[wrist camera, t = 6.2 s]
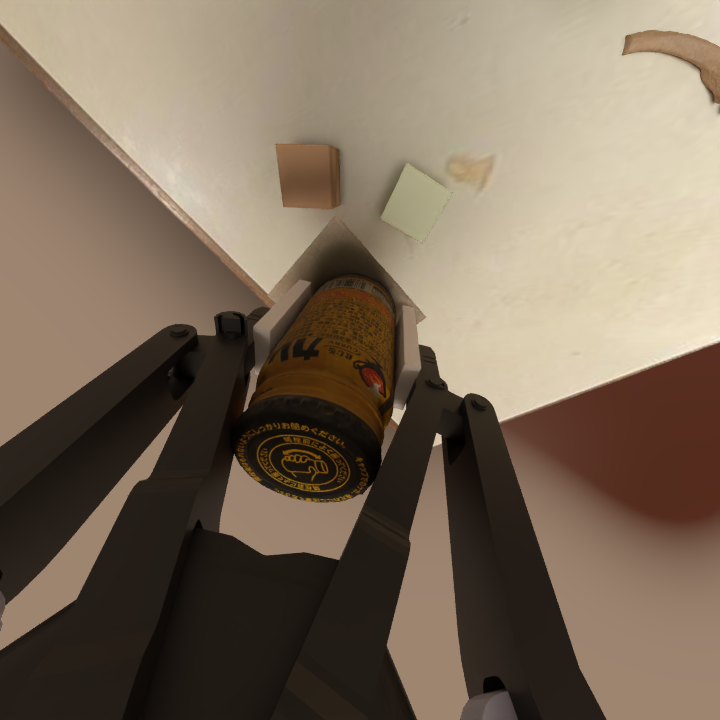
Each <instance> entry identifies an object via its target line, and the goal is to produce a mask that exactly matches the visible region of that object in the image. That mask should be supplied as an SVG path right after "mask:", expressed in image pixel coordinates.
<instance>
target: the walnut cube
mask: <svg viewBox="0 0 720 720" xmlns="http://www.w3.org/2000/svg"><path fill="white" fill-rule="evenodd" d="M276 151H277V160H278V168H279V176H280V184H281V192H282V200H283V207H297V208H320V209H332V208H335V207H337V206H339V205H340V166H339V150H338V149H336V148H334V147H332V146H330V145H303V144H276Z"/></svg>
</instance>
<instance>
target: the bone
mask: <svg viewBox="0 0 720 720" xmlns="http://www.w3.org/2000/svg"><path fill="white" fill-rule="evenodd" d="M641 51H654V52H657V51H660V52H665V53H667V54H672V55H675V56H679V57H681V58H682V59H684V60H688V61H690V62H692V63H693V64H695V65H696V66H697V67H699V68H700V69H701V79H702V81H703V83H704V84H705V86H706V88H707V87H708V89H709V90H710V91H712V93H713V95H714V99H713V100H715V102H716V103H718V104H719V103H720V47H719V46H717V45H715V44H713V43H711V42H709V41H707V40H704V39H701V38H698V37H696V36H692V35H689V34H682V33H678V32H672V31H667V32H663V31H657V30H651V31H644V32H638V33H635V34H631V35H627V36H626V43H625V47H624V51H623V55H626V54H629V53H633V52H641Z"/></svg>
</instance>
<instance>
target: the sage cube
mask: <svg viewBox="0 0 720 720" xmlns="http://www.w3.org/2000/svg"><path fill="white" fill-rule="evenodd" d="M452 193H453V192H452V191H450V190H448V189H447V188H445V187H444V186H442V185H441V184H439V183H437V182H436V181H434V180H433V179H431V178H430V177H428V176H426V175H425V174H423V173H422V172H420V171H419V170H417V169H415V168H414V167H412V166H411V165H409V164H406V166H405V168H404V170H403V172H402V174H401V176H400V178H399V180H398V182H397V184H396V187H395V189H394V191H393V193H392V195H391V197H390V199H389V201H388V203H387V205H386V208H385V210H384V212H383V214H382V216H381V218H380V219H381V220H383V221H385V222H386V223H388V224H390V225H392V226H393V227H395V228H397V229H398V230H400V231H402V232H404V233H405V234H407V235H409V236H410V237H412V238H414V239H416V240H417V241H419V242H421V243H423V241H424V240H425V238H426V236H427V235H428V233H429V231H430V230H431V228H432V226H433V225H434V223H435V221H436V220H437V218H438V216H439V215H440V213H441V211H442V210H443V208H444V206H445V205H446V203H447V201H448V200H449V198H450V196H451V194H452Z"/></svg>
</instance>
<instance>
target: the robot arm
mask: <svg viewBox="0 0 720 720" xmlns="http://www.w3.org/2000/svg"><path fill="white" fill-rule="evenodd" d="M310 290H311V282H308V281H304V280H299V281H298V282H297V283H296V284H295V285H294V286H293V287H292V288H291V289H290V290H289V291H288V292H287V293H286V294H285V295H284V296H283V297H282V298H281V299H280V300H279V301H278V302H277V303H276V304H275V305H274V306H273V307H272V308H271V309H270V308H266V307H260V308H257V309H255V310H254V311H252V312H251V313H250V315H248V316H247V317H246V316H245V315H244V314H242V313H240V312H235V311H227V312H222V313H219V314H217V315H216V316H215V317H214V320H215V326H216V335H215V336H205V335H197V330H196V329H195V328H194V327H193V326H190V325H185V324H175V325H171V326H168V327H166V328H164V329H162V330H161V331H160V332H158V333H157V334H155V335H154V336H153V337H151V338H150V339H148V340H147V341H146V342H144V343H143V344H142V345H140V346H139V347H137V348H136V349H135V350H133V351H132V352H131V353H129V354H128V355H126V356H125V357H124V358H122V359H121V360H120V361H118V362H117V363H115V364H114V365H113V366H111V367H110V368H108V369H107V370H106V371H104V372H103V373H102V374H100V375H99V376H97V377H96V378H95V379H93V380H92V381H91V382H89V383H88V384H86V385H85V386H84V387H82V388H81V389H80V390H78V391H77V392H75V393H74V394H73V395H71V396H70V397H69V398H67V399H66V400H65V401H63V402H62V403H60V404H59V405H57V406H56V407H55V408H53V409H52V410H51V411H49V412H48V413H46V414H45V415H44V416H42V417H41V418H40V419H38V420H37V421H35V422H34V423H33V424H32V425H30V426H29V427H27V428H26V429H24V430H23V431H22V432H20V433H19V434H18V435H16V436H15V437H13V438H12V439H11V440H9V441H8V442H6V443H5V444H4V445H2V446H1V447H0V630H1V627H2V622H1V617H2V614H3V612H4V609H5V605H6V604H8V602H10V601H11V600H12V599H13V598H14V597H15V596H17V595H18V594H19V593H20V592H21V591H22V590H23V589H24V588H25V587H26V586H27V585H28V584H29V583H30V582H31V581H32V580H33V579H34V578H35V577H36V576H37V575H38V574H39V573H40V572H41V571H42V570H43V569H44V568H45V567H46V566H47V565H48V564H49V563H50V561H51V560H52V559H53V558H54V557H55V556H56V555H57V554H58V553H59V552H60V550H61V549H62V548H63V547H64V546H65V545H66V544H67V542H68V541H69V540H70V539H71V538H72V536H73V535H74V534H75V533H76V532H77V530H78V529H79V528H80V527H81V526H82V524H83V523H84V522H85V521H86V520H87V519H88V517H89V516H90V515H91V514H92V512H93V511H94V510H95V509H96V508H97V507H98V506H99V504H100V503H101V502H102V501H103V499H104V498H105V497H106V496H107V495H108V494H109V492H110V491H111V490H112V489H113V488H114V486H115V485H116V484H117V483H118V482H119V480H120V479H121V478H122V477H123V476H124V475H125V473H126V472H127V471H128V470H129V469H130V467H131V466H132V465H133V464H134V463H135V461H136V460H137V459H138V458H139V457H140V456H141V454H142V453H143V452H144V451H145V450H146V448H147V447H148V446H149V445H150V444H151V442H152V441H153V440H154V439H155V438H156V436H157V435H158V434H159V433H160V432H161V430H162V429H163V428H164V427H165V426H166V424H167V423H168V422H169V421H170V420H171V419H172V417H173V416H174V415H175V414H176V412H177V411H178V410H179V409H180V408H181V407H182V405H183V407H182V409H181V411H180V413H179V416H178V418H177V420H176V422H175V424H174V426H173V428H172V430H171V433H170V435H169V437H168V439H167V441H166V443H165V446H164V448H163V450H162V452H161V454H160V457H159V459H158V461H157V463H156V465H155V467H154V469H153V472H152V473H151V475H150V477H149V478H148V479H146V480H142V481H139V482H138V483H137V484H136V485H135V486H134V487H133V489H132V491H131V492H130V494H129V496H128V498H127V500H126V502H125V504H124V506H123V508H122V510H121V512H120V514H119V516H118V518H117V520H116V522H115V524H114V526H113V528H112V530H111V532H110V534H109V536H108V538H107V540H106V542H105V544H104V546H103V548H102V550H101V552H100V554H99V556H98V558H97V560H96V562H95V564H94V566H93V568H92V570H91V572H90V574H89V576H88V578H87V580H86V582H85V584H84V586H83V588H82V590H81V592H80V594H79V596H78V598H77V599H76V600H75V601H73V602H72V603H70V604H69V605H67V606H66V607H64V608H63V609H62V610H60V611H59V612H57V613H56V614H54V615H53V616H51V617H50V618H48V619H47V620H45V621H44V622H42V623H41V624H39V625H38V626H36V627H35V628H33V629H32V630H30V631H29V632H27V633H26V634H24V635H23V636H21V637H20V638H18V639H17V640H15V641H14V642H12V643H11V644H9V645H8V646H6V647H5V648H3V649H2V650H0V720H417V719H416V716H415V714H414V711H413V709H412V706H411V704H410V701H409V699H408V697H407V694H406V692H405V689H404V687H403V684H402V682H401V680H400V677H399V675H398V672H397V670H396V667H395V665H394V663H393V660H392V658H391V655H390V653H389V650H388V648H387V641H388V637H389V633H390V629H391V625H392V621H393V617H394V613H395V609H396V605H397V601H398V597H399V593H400V589H401V585H402V581H403V577H404V573H405V569H406V565H407V561H408V556H409V552H410V541H409V534H410V530H411V526H412V523H413V519H414V515H415V511H416V507H417V503H418V500H419V496H420V492H421V489H422V485H423V481H424V477H425V473H426V470H427V466H428V462H429V458H430V454H431V450H432V447H433V443H434V439H435V436H436V433H438V434H440V435H442V448H443V461H444V472H445V484H446V496H447V507H448V520H449V532H450V543H451V555H452V567H453V579H454V591H455V603H456V615H457V627H458V637H459V645H460V654H461V661H462V667H463V672H464V677H465V682H466V687H467V692H468V696H469V700H468V702H467V703H466V705H465V706H464V708H463V711H462V715H461V719H460V720H606V718H605V716H604V714H603V712H602V710H601V708H600V706H599V704H598V703H597V701H596V699H595V697H594V695H593V693H592V691H591V689H590V687H589V685H588V684H587V682H586V680H585V678H584V676H583V674H582V672H581V670H580V669H579V665H578V662H577V659H576V656H575V654H574V650H573V647H572V645H571V641H570V638H569V635H568V632H567V629H566V626H565V623H564V620H563V617H562V614H561V611H560V608H559V605H558V602H557V599H556V596H555V593H554V589H553V587H552V584H551V580H550V577H549V575H548V571H547V568H546V565H545V562H544V559H543V556H542V553H541V550H540V547H539V544H538V541H537V538H536V535H535V532H534V529H533V526H532V523H531V520H530V516H529V514H528V510H527V507H526V505H525V502H524V498H523V496H522V492H521V489H520V486H519V483H518V480H517V477H516V474H515V471H514V468H513V465H512V462H511V459H510V456H509V453H508V450H507V447H506V444H505V440H504V438H503V434H502V432H501V429H500V425H499V422H498V419H497V416H496V413H495V410H494V407H493V406H492V404H491V403H490V402H489V401H488V400H487V399H486V398H484V397H482V396H480V395H477V394H473V393H470V394H467V395H466V396H465V397H464V398H461V397H459V396H457V395H455V394H453V393H451V392H450V391H448V386H447V384H446V382H445V381H444V380H442V379H441V378H440V376H439V371H438V366H437V361H436V356H435V353H434V351H433V350H432V349H431V348H430V347H427V346H423V345H419V344H418V336H417V327H416V318H415V310H414V308H413V307H409V306H405V305H403V306H402V309H401V312H400V315H399V318H398V322H397V325H396V343H395V365H396V368H395V378H394V385H395V396H394V398H395V400H394V405H393V408H397V409H401V410H403V408H404V406H405V404H406V410H405V413H404V415H403V417H402V419H401V422H400V424H399V426H398V428H397V431H396V433H395V435H394V438H393V440H392V442H391V444H390V447H389V449H388V451H387V453H386V456H385V458H384V460H383V463H382V465H381V467H380V469H379V471H378V474H377V476H376V478H375V480H374V483H373V485H372V487H371V490H370V492H369V494H368V496H367V499H366V501H365V503H364V506H363V508H362V510H361V512H360V514H359V517H358V519H357V521H356V523H355V526H354V528H353V530H352V533H351V535H350V537H349V539H348V542H347V544H346V546H345V548H344V551H343V553H342V555H341V557H340V560H336V559H332V558H327V557H323V556H319V555H314V554H310V553H305V552H303V553H292V554H281V555H269V556H267V555H262V554H261V553H259V552H257V551H255V550H254V549H253V548H251V547H249V546H248V545H246V544H244V543H243V542H241V541H240V540H238V539H236V538H235V537H233V536H230V535H226V534H222V533H219V525H220V516H221V511H222V506H223V502H224V497H225V493H226V488H227V484H228V479H229V474H230V470H231V465H232V461H233V456H234V452H233V446H232V434H233V430H234V428H235V425H236V423H237V419H238V418H239V416H240V415H241V414H242V413H243V410H244V406H245V401H246V396H247V392H248V387H249V382H250V371H251V370H252V368H253V367H254V366H255V374H256V375H259V372H260V370H261V368H262V366H263V365H264V363H265V362H266V360H267V357H268V356H269V355H270V354H271V353H272V352H273V350H274V349H275V347H276V345H277V344H278V342H279V341H280V340H281V339H282V338H283V337H284V335H285V334H286V332H287V331H288V330H289V328H290V327H291V325H292V323H293V322H295V320H296V319H297V317H298V315H299V313H300V312H301V311H302V310H303V309H304V307H305V305H306V304H307V303H308V302H309V300H310Z"/></svg>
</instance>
